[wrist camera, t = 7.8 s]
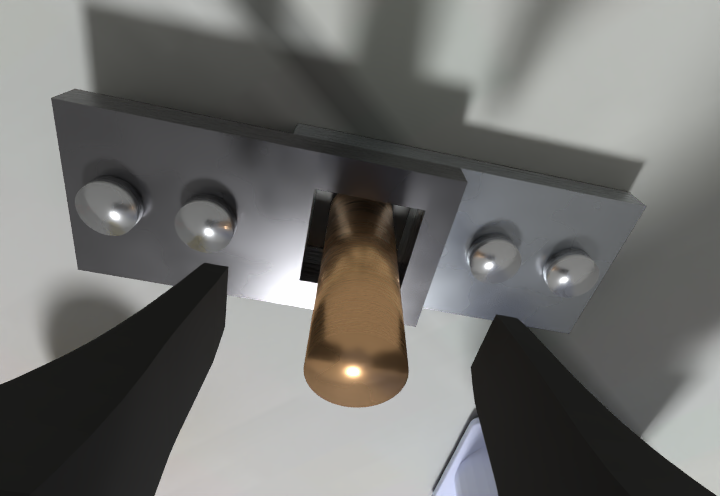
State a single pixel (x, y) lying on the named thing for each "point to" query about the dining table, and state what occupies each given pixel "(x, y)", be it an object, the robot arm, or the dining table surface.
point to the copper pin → (357, 309)
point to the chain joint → (296, 202)
